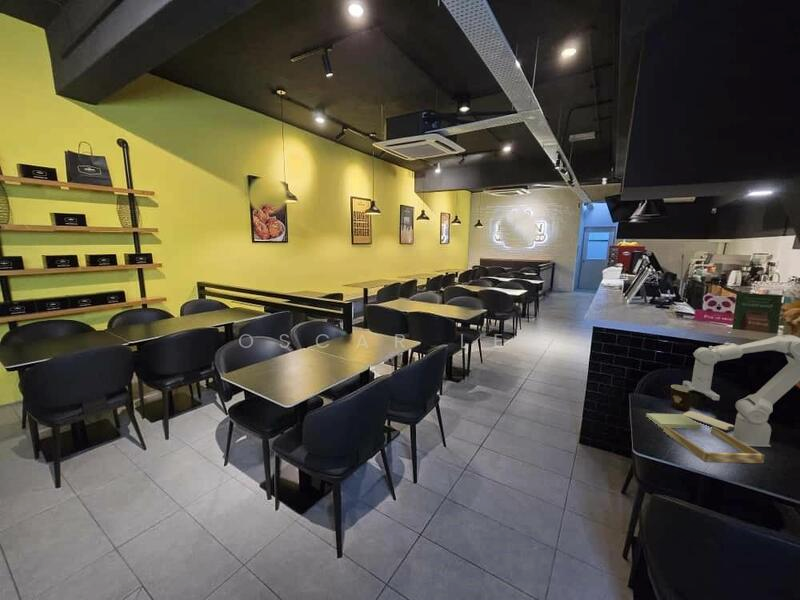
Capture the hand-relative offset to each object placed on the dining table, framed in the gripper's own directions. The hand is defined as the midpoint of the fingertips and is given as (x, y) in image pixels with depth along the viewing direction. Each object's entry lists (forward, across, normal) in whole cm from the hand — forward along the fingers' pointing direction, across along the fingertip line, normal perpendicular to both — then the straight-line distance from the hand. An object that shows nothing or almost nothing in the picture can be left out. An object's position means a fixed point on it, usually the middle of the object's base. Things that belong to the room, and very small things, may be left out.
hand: (697, 409), depth 133 cm
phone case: (+10, -7, +12) cm, 17 cm away
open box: (+9, +12, -4) cm, 15 cm away
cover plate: (+10, -6, -4) cm, 12 cm away
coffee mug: (+10, -21, +10) cm, 25 cm away
